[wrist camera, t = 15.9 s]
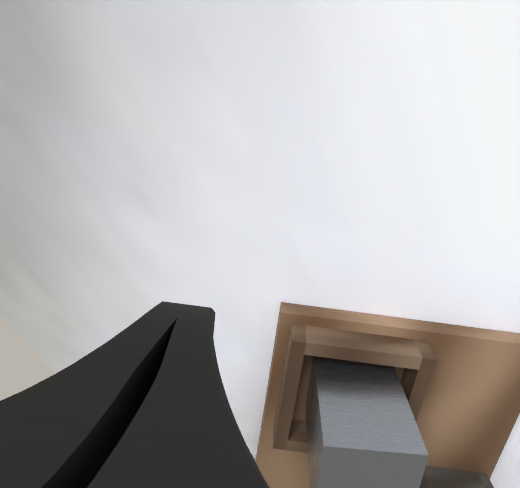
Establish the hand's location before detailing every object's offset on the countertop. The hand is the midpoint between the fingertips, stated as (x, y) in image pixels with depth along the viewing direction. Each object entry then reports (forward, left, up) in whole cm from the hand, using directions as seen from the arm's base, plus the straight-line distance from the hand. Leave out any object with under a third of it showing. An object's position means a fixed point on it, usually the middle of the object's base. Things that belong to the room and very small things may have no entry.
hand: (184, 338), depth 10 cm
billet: (-7, +8, -9) cm, 14 cm away
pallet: (-10, +12, -10) cm, 19 cm away
